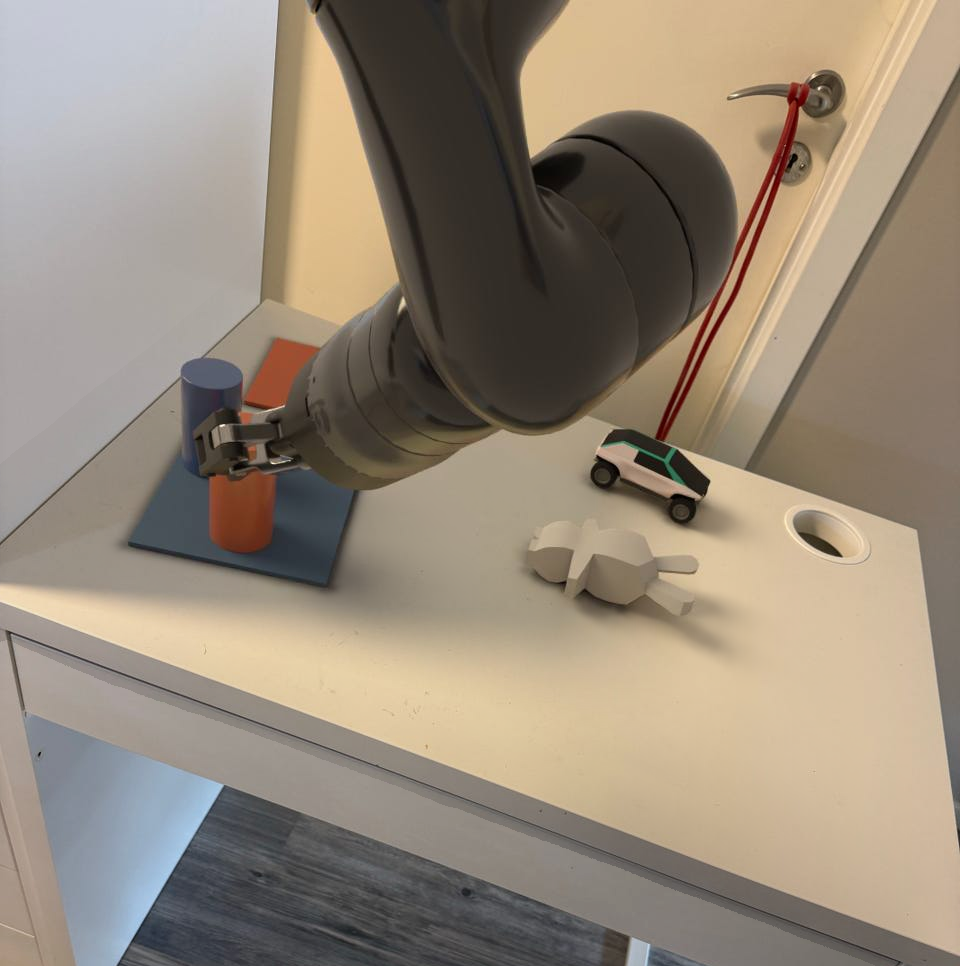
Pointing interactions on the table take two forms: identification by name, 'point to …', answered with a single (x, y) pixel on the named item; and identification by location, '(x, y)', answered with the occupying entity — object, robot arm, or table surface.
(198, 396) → the blue canister
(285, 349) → the terracotta mat
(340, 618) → the table surface
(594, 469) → the toy car
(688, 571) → the bunny figurine
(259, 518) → the terracotta canister
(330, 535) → the blue mat
